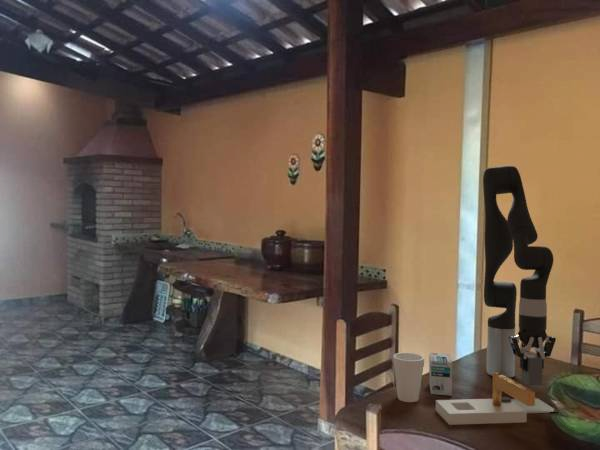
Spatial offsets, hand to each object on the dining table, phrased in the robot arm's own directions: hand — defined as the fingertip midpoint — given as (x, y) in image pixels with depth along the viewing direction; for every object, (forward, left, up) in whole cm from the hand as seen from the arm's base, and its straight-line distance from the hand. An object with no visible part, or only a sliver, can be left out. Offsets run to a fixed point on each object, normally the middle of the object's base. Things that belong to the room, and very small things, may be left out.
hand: (531, 370), depth 148 cm
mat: (0, 0, -11) cm, 11 cm away
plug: (0, 0, -4) cm, 4 cm away
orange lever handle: (+13, -13, -8) cm, 20 cm away
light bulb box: (-16, -22, -11) cm, 29 cm away
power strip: (+6, -19, -11) cm, 22 cm away
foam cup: (-9, -35, -11) cm, 38 cm away
